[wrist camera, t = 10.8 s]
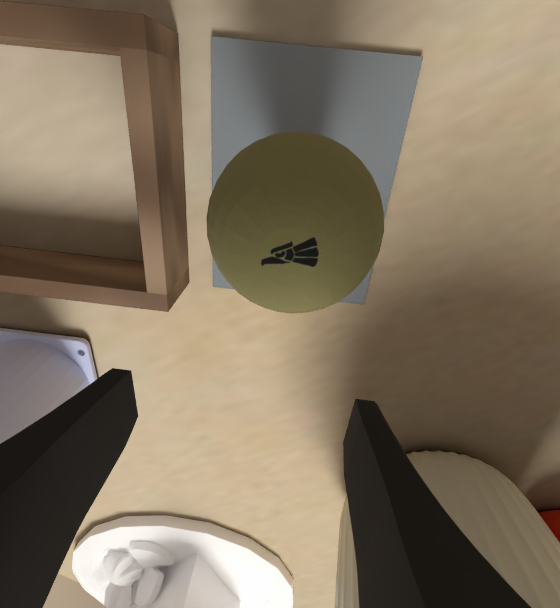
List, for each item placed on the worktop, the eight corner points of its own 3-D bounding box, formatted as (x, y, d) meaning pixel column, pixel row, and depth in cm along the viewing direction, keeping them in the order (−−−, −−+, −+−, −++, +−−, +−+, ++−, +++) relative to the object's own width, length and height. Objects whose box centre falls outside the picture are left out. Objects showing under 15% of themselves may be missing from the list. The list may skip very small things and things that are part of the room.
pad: (363, 302, 21) (363, 304, 20) (213, 285, 21) (213, 286, 21) (422, 57, 15) (423, 56, 15) (212, 36, 15) (211, 36, 15)
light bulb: (322, 96, 16) (333, 78, 7) (376, 203, 18) (439, 295, 9) (224, 166, 17) (135, 225, 9) (284, 256, 19) (260, 376, 11)
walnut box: (189, 282, 21) (168, 311, 18) (-68, 252, 21) (-131, 276, 18) (177, 33, 15) (143, 14, 12) (-177, -1, 16) (-296, -28, 12)
